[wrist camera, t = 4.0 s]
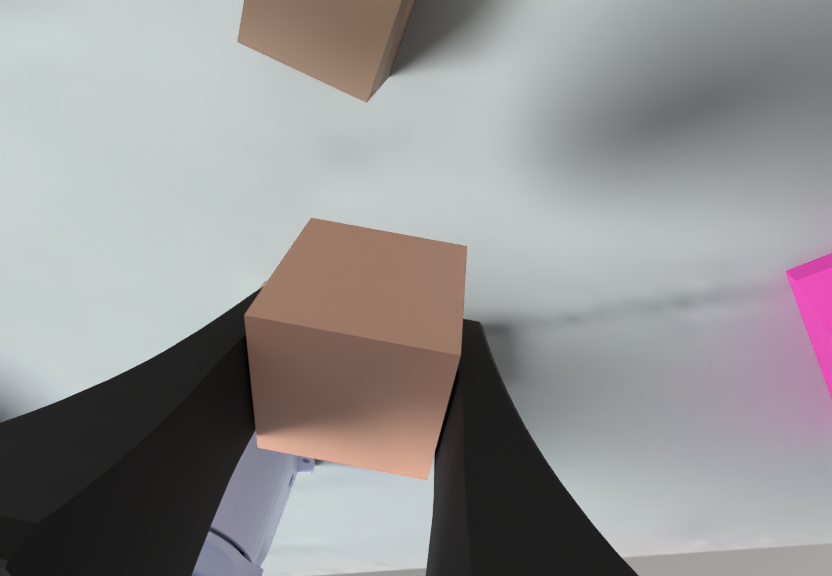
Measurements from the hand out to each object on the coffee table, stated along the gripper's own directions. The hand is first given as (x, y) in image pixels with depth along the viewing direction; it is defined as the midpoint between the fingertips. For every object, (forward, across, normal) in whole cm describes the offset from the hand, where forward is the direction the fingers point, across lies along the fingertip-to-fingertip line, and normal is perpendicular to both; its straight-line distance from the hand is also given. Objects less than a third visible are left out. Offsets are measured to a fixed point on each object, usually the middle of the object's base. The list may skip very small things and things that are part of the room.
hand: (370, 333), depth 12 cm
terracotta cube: (+2, 0, 0) cm, 2 cm away
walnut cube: (+10, +3, -6) cm, 12 cm away
